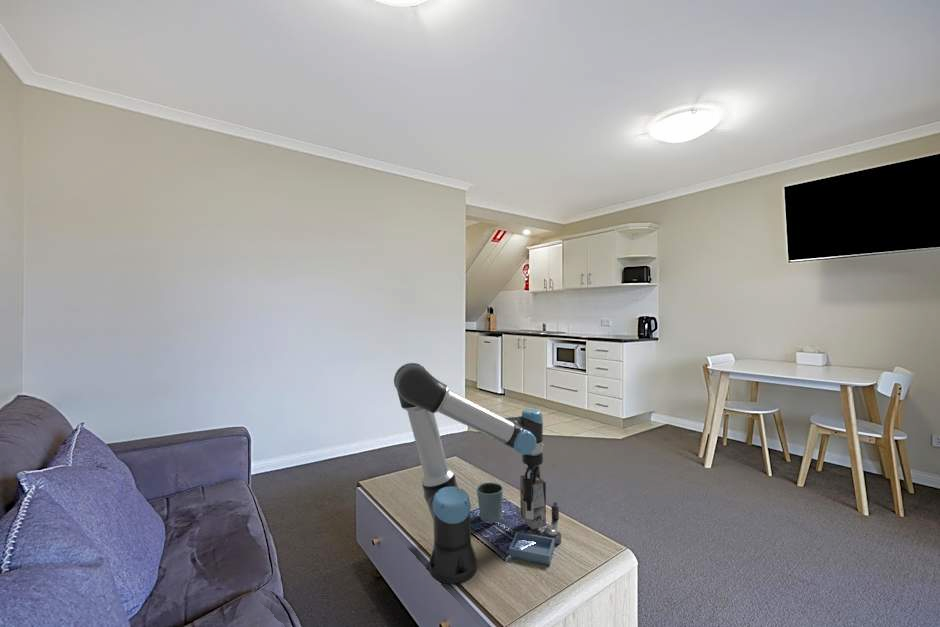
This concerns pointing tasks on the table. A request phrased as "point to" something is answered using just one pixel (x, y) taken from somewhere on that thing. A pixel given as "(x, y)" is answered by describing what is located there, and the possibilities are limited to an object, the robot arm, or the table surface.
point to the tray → (533, 549)
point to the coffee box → (534, 503)
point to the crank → (553, 521)
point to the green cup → (490, 502)
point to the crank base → (557, 538)
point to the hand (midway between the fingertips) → (532, 511)
